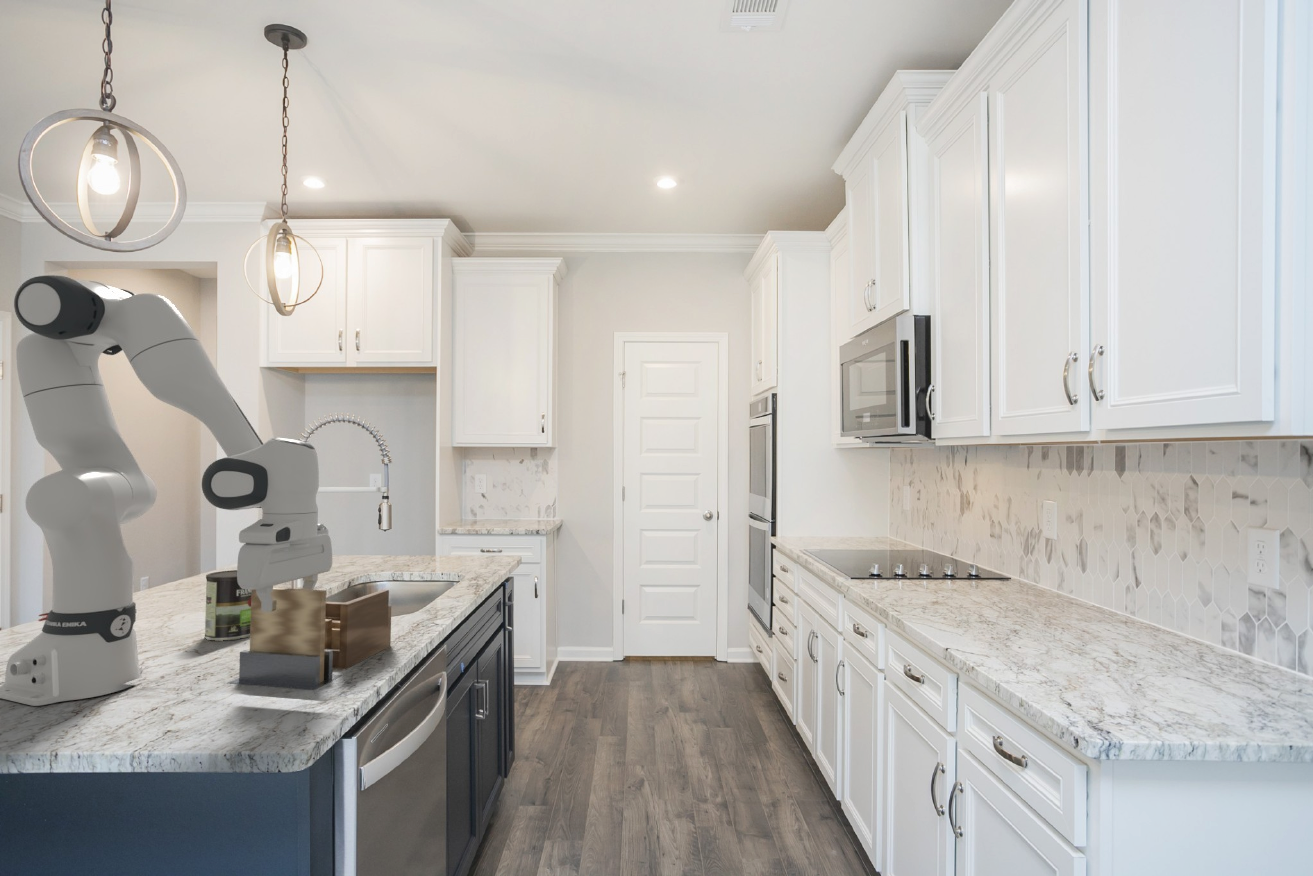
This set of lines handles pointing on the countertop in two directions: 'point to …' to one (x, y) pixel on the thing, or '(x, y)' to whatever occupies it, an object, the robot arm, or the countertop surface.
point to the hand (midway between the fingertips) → (287, 605)
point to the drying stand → (284, 670)
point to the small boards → (332, 634)
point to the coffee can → (226, 607)
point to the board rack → (360, 627)
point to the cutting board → (290, 623)
